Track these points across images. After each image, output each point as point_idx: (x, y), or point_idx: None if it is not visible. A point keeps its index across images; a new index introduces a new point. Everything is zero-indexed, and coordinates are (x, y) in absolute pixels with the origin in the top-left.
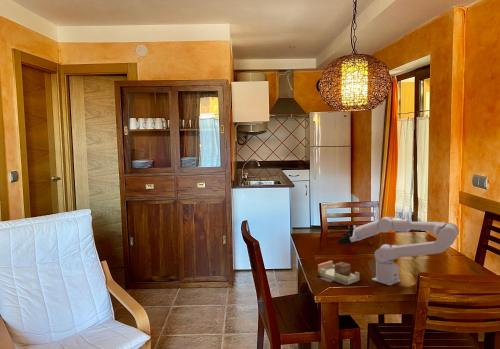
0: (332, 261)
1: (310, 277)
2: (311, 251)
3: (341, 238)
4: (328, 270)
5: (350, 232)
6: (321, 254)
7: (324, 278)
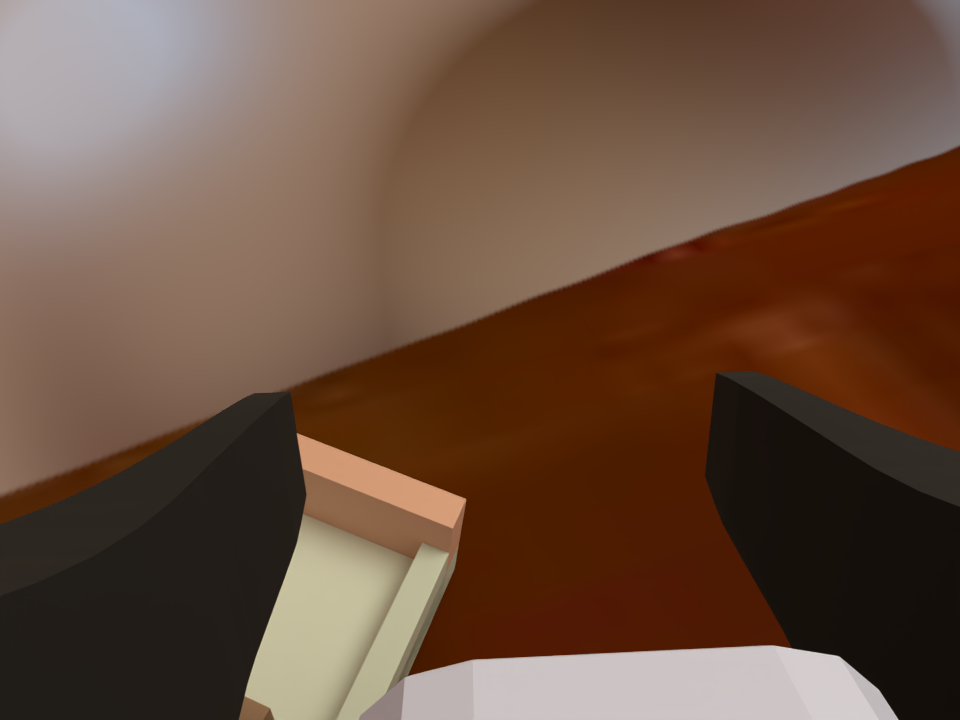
0: (445, 527)
1: (173, 440)
2: (881, 258)
3: (168, 448)
4: (306, 557)
5: (858, 542)
6: (882, 338)
7: None
